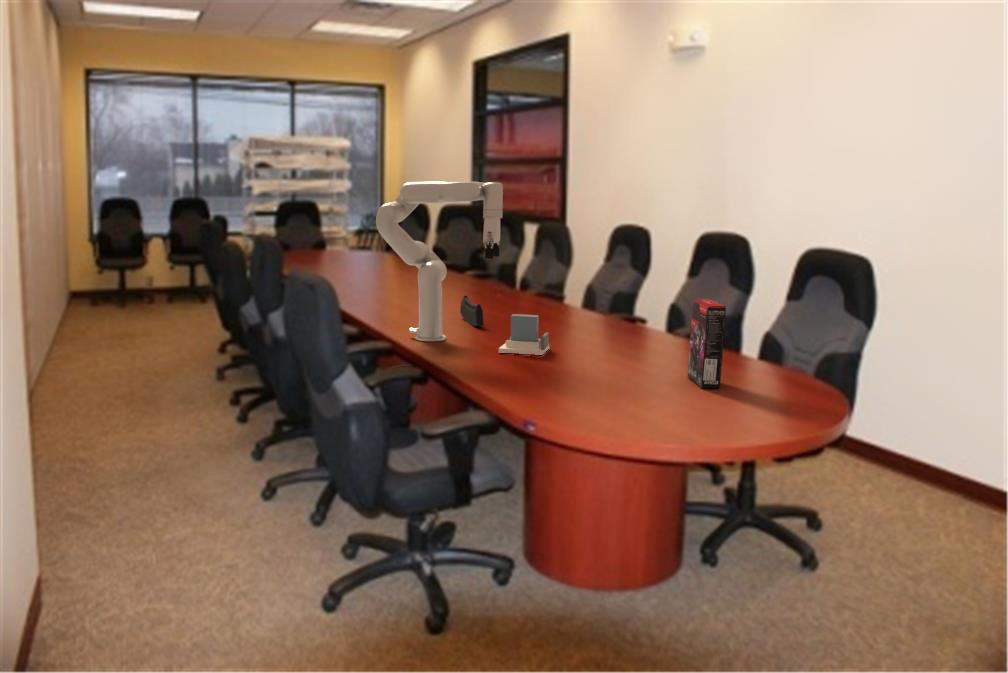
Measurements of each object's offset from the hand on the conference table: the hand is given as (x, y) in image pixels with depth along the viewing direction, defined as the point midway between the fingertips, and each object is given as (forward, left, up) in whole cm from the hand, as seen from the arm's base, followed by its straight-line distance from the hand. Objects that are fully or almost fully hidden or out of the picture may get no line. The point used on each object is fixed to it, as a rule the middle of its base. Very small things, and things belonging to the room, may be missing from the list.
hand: (492, 257), depth 355 cm
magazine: (-20, +42, -35) cm, 58 cm away
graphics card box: (+85, -49, -34) cm, 104 cm away
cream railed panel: (+17, -15, -34) cm, 41 cm away
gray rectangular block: (+17, -15, -32) cm, 39 cm away
